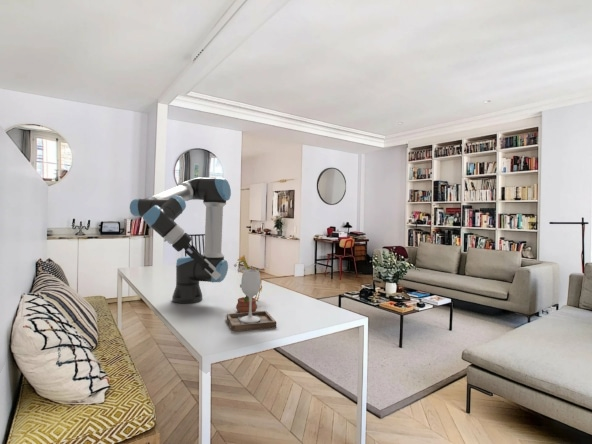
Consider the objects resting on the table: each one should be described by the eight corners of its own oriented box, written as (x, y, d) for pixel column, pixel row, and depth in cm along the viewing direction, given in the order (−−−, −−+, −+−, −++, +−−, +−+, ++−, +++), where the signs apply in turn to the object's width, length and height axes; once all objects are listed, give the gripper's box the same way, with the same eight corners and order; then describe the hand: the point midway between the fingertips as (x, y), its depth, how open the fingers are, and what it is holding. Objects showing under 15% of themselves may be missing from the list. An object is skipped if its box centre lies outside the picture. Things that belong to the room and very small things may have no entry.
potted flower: (235, 315, 153) (236, 261, 152) (229, 309, 162) (230, 258, 161) (260, 312, 158) (261, 260, 158) (252, 307, 167) (254, 257, 167)
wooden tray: (226, 319, 147) (226, 313, 147) (266, 316, 153) (266, 310, 153) (232, 331, 132) (232, 325, 132) (276, 327, 138) (276, 321, 138)
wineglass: (256, 324, 138) (257, 273, 138) (236, 322, 140) (237, 271, 139) (262, 317, 147) (264, 269, 146) (244, 316, 148) (245, 268, 148)
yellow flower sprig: (239, 305, 171) (240, 255, 170) (234, 303, 174) (235, 255, 173) (264, 299, 182) (265, 253, 182) (259, 298, 186) (260, 252, 185)
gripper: (170, 241, 144) (206, 274, 150) (171, 249, 121) (213, 288, 127) (183, 229, 146) (218, 262, 152) (186, 234, 123) (227, 273, 129)
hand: (216, 274), depth 139 cm, fingers open, 13 cm apart
